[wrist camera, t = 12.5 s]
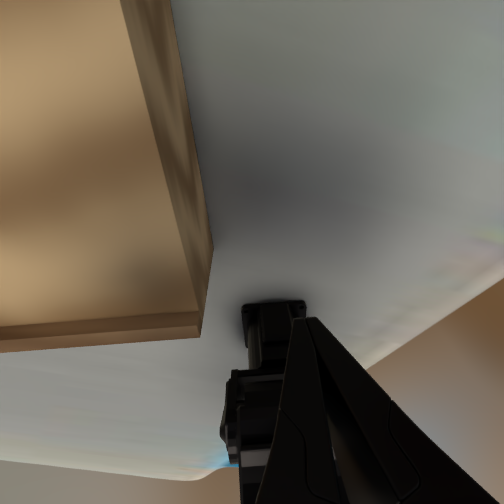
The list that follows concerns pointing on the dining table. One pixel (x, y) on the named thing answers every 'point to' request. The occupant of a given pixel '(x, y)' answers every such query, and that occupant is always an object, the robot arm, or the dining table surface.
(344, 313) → the dining table surface
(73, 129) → the tan wooden box
